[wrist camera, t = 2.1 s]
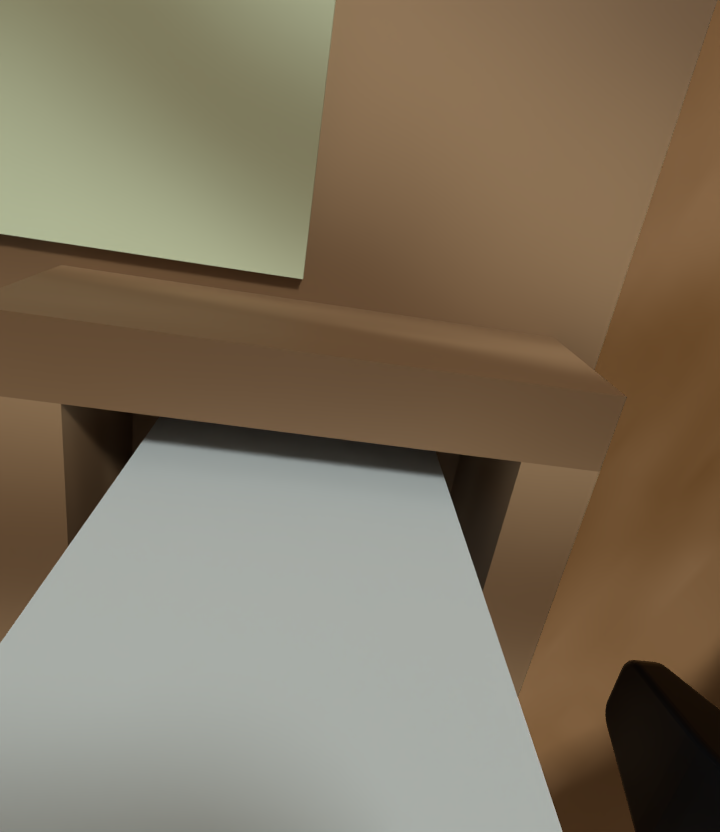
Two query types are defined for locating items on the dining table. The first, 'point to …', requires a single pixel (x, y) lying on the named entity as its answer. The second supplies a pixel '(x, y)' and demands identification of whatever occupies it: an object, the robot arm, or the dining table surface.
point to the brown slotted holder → (328, 247)
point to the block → (265, 653)
